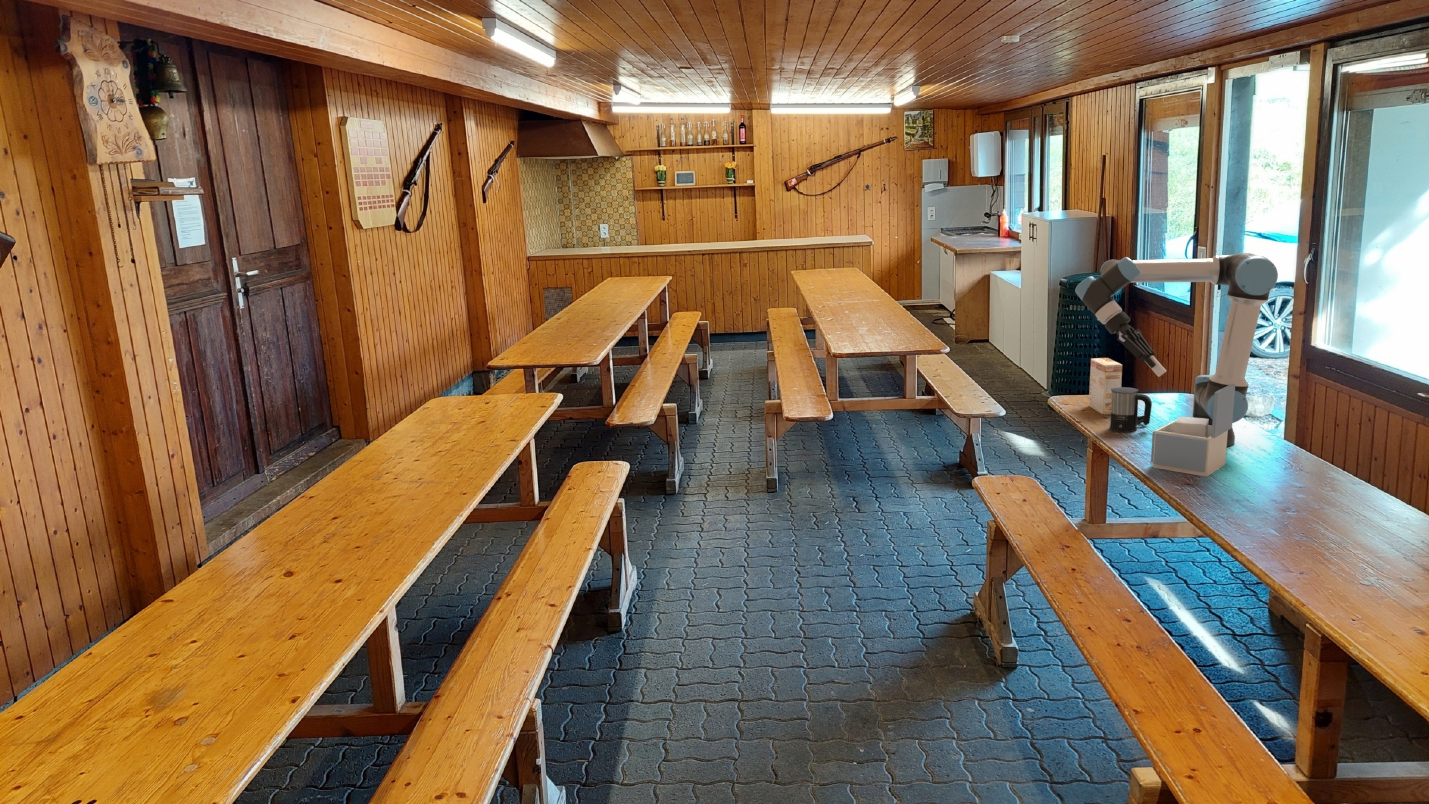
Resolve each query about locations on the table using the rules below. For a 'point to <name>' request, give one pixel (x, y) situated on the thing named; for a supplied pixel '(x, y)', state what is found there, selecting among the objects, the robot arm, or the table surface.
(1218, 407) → the flap
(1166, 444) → the carton
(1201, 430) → the supplement box
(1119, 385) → the coffeecake box
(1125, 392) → the milk frother
